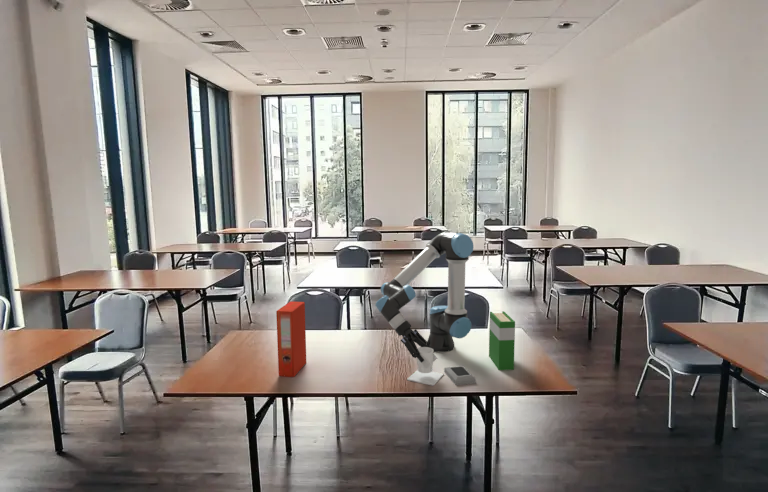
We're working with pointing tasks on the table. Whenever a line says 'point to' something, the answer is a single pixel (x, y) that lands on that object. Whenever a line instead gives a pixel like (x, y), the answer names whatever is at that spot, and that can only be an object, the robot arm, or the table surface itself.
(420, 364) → the white cup
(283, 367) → the file binder
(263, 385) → the table surface
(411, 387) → the table surface
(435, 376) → the mat
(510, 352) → the hardback book
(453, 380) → the grey box
